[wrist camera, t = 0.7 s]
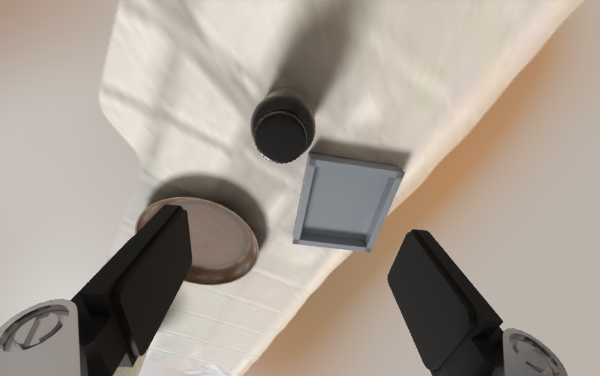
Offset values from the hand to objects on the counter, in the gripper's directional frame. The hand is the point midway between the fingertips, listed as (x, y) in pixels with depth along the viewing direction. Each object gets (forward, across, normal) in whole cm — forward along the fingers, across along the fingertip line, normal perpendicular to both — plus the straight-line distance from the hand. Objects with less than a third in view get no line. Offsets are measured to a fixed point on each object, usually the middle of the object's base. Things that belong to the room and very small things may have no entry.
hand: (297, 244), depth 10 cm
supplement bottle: (+25, +1, -1) cm, 25 cm away
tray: (+25, -9, +12) cm, 29 cm away
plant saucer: (+26, +14, +22) cm, 37 cm away
